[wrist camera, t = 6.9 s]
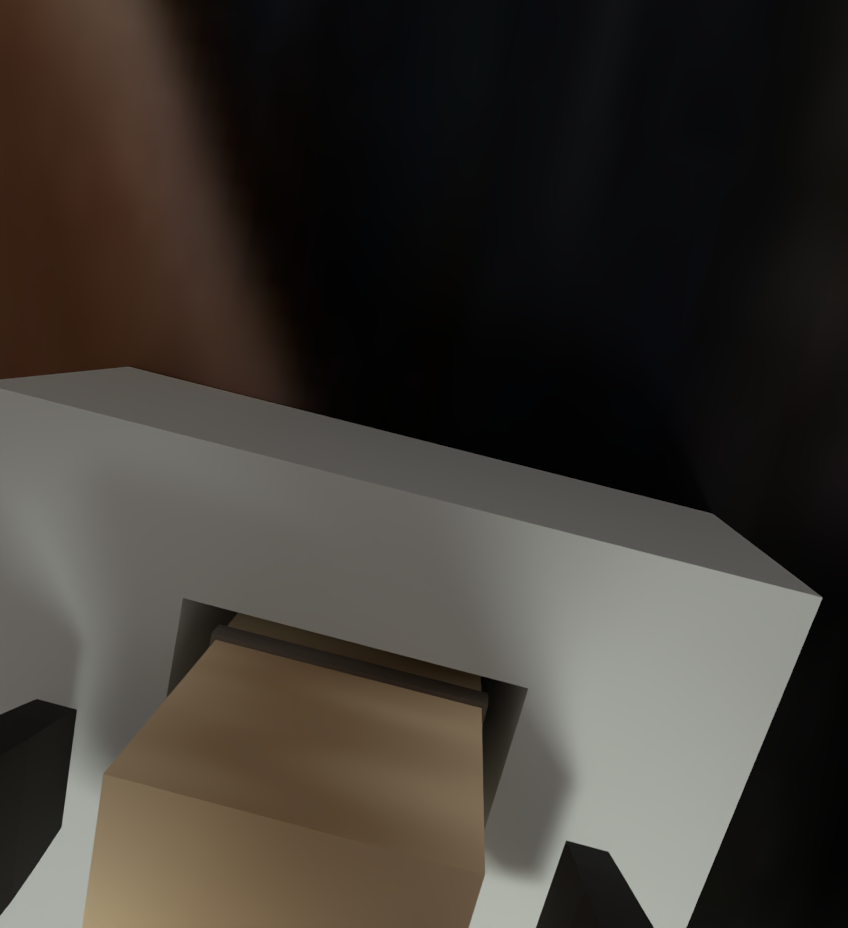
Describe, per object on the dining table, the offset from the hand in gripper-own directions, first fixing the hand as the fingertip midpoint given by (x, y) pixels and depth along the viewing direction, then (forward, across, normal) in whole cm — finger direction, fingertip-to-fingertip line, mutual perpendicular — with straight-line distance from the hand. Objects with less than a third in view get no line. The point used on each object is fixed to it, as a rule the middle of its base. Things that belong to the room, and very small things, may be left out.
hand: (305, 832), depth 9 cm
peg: (+5, 0, 0) cm, 5 cm away
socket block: (+5, 0, 0) cm, 5 cm away
